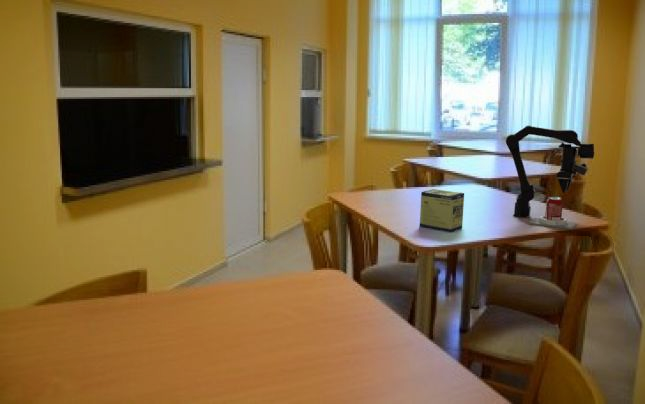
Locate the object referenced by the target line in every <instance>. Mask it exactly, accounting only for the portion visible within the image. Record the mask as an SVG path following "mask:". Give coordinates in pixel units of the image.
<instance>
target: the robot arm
mask: <svg viewBox="0 0 645 404" xmlns="http://www.w3.org/2000/svg"><path fill="white" fill-rule="evenodd" d="M529 135H533V136H537V137H543V138H550V139H552V138H553V139H555V140H559V141H561V143H560V144H559V145H558V146H557V147H558V148H559V149H562V151H561V152H562V153H561V159H560V163H561V164H560V169H559V171H558V172H556V178H557V182H558V183H559V187H560V189H561V192H562V193H563V194H565V193H567V191H569V190H570V186H571V184H572V181H573V179H574V178H575V177H576V176H577V175H578V174H580V175H582V176H585V175H586V174H587V173H588V171H589V168H588V167H587V164H586V163H582V164H579V163H577V160H576V156H577V157H579V159H588V160H590V159H591V160H593V159H594V157H595V144H594V143H581V141H580V140H579V139H578V138H579V136H578V133H577V132H576V131H575V130H572V129H551V128H544V127H538V126H532V125H526V126H524V127H523V128H522V129H520V130H519V131H516V133H511V134H509V135H507V137H506V138H505V144H506V146H507V148H508V150H509V152H510V154H511V157H512V159H513V163H514V166H515V170H516V173H517V176H518V180H519V185H520V186H519V187H520V194H518V195H517V196H516V198H515V202H514V211H513V215H512V216H513V217H519V218H528V217H530V215H531V209H532V208H531V207H532V206H531V203H530V201H532V200H534V198H535V194H536V190H535V188H534V184H533V182H531V183H530V181H529V180H528V177H527V173H526V169H525V165H524V162H523V159H522V156H521V152H520V150H521V149H520V141H522V140H523V139H525V138H526V137H527V136H529ZM564 142H565V143H564ZM572 144H574V145H575V146H573V145H572Z"/></svg>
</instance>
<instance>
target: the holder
mask: <svg viewBox="0 0 645 404" xmlns="http://www.w3.org/2000/svg"><path fill="white" fill-rule="evenodd" d="M528 224H529V225H532V226H540V227H547V228H555V229H556V228H557V229H564V230H572V231H573V230H574V228H575V227H576V226H577V222H574V221H568V218H567V217H564V216H562V218H561V220H557V221H556V220H547V219H545V215H541V216H539V217H534V218H532V220H531V221H530V222H529V223H528Z"/></svg>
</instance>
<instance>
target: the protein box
mask: <svg viewBox="0 0 645 404" xmlns="http://www.w3.org/2000/svg"><path fill="white" fill-rule="evenodd" d="M464 201H465V192H457V191H449V190H442V189H429V190H424V191H421V194H420V213H419V215H420V217H419V228H425V229H429V228H430V230H435V231H441V232H446V233H453V232H456V231H458V230H462V229H463V223H464V222H463V219H464Z"/></svg>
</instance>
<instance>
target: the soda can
mask: <svg viewBox="0 0 645 404" xmlns="http://www.w3.org/2000/svg"><path fill="white" fill-rule="evenodd" d="M545 202H546V205H545V214H544V216H545V219H547V220H556V221H557V220H561V218H562V217H563V216H562V214H563V205H564V202H563V200H562V198H561V197H559V196H548V199H547V200H546V201H545Z"/></svg>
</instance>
